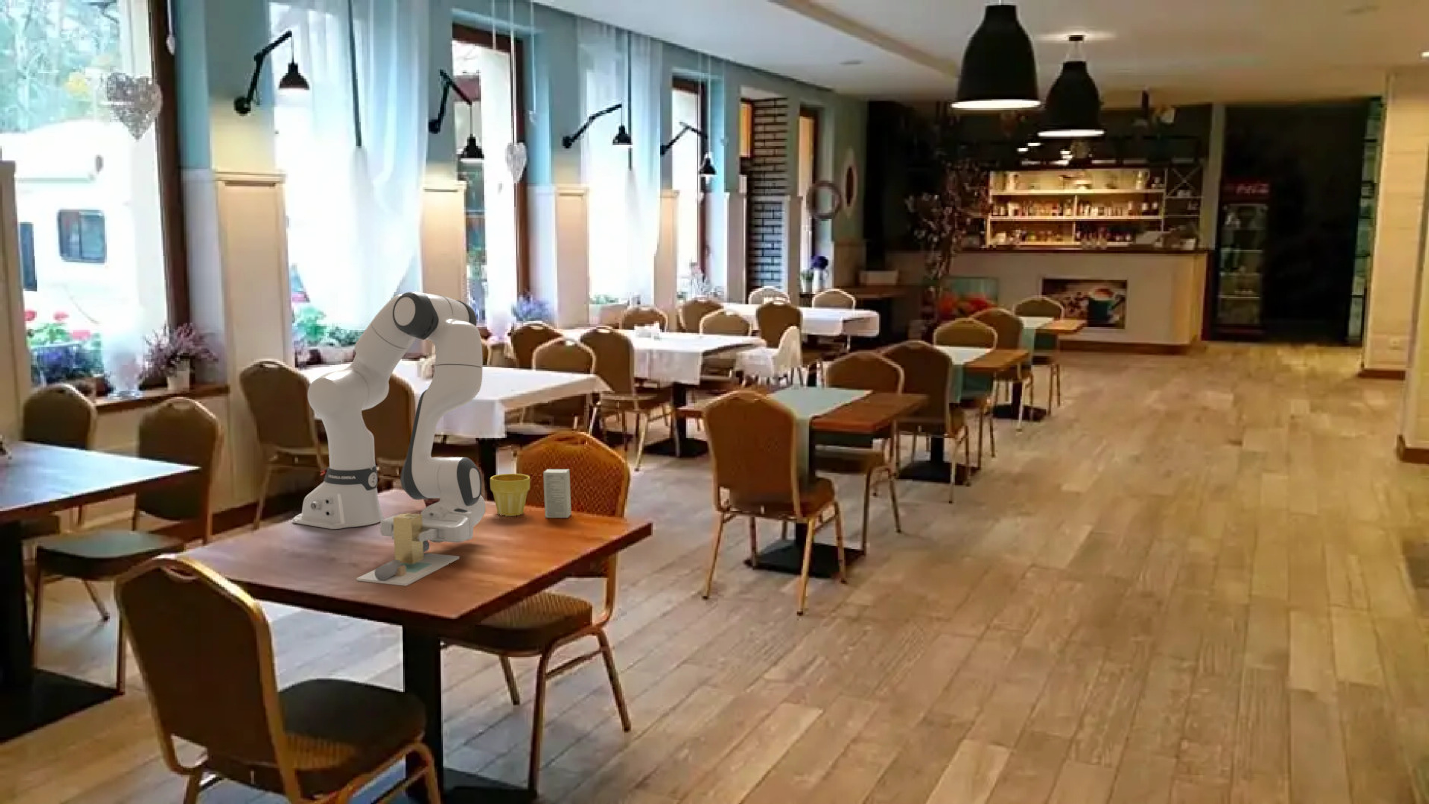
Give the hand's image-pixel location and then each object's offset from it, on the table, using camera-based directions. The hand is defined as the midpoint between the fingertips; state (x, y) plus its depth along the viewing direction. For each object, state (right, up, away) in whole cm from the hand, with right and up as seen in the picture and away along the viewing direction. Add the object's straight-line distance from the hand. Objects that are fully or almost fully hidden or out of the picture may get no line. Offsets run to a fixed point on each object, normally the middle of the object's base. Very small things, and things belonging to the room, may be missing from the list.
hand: (406, 536), depth 256 cm
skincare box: (+26, -1, +51) cm, 57 cm away
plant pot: (+13, 0, +54) cm, 56 cm away
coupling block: (0, -5, +2) cm, 6 cm away
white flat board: (0, -7, +2) cm, 8 cm away
